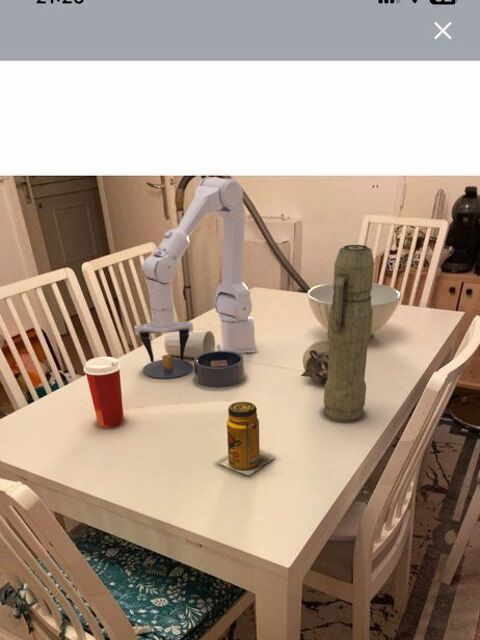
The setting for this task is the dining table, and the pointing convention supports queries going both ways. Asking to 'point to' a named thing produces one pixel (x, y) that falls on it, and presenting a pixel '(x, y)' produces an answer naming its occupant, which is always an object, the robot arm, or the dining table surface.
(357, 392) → the thermos
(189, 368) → the lid
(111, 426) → the paper cup
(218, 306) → the robot arm
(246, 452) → the condiment
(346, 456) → the dining table surface
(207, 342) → the cup
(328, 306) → the decorative bowl
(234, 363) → the tin
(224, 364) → the block
